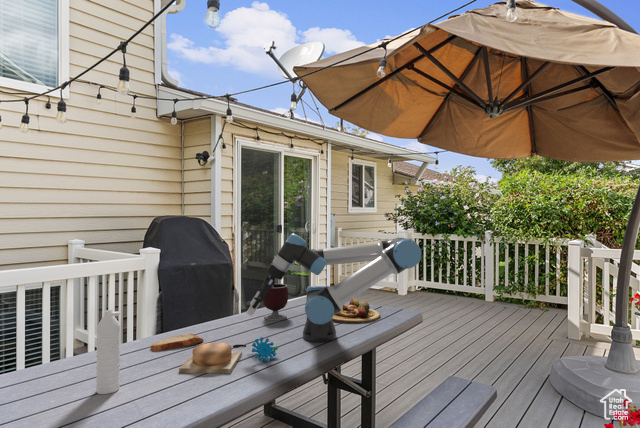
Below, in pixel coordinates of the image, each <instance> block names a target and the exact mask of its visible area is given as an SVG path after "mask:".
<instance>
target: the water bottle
mask: <svg viewBox="0 0 640 428" xmlns="http://www.w3.org/2000/svg"><path fill="white" fill-rule="evenodd" d="M103 311H104V313H103V317H102V318H100V321H99V322H98V324H97V326H96V355H95V356H96V361H95V362H96V379H95V381H96V384H95V385H96V386H95V388H96V390H95V391H96V393H97V394H98V395H109V394H113V393H115V392H117V391H119V390H120V387H121V383H120V382H121V381H120V380H121V379H120V377H121V374H120V371H121V370H120V369H121V368H120V365H121V363H120V361H121V358H120V357H121V356H120V354H121V351H120V350H121V348H120V345H121V343H120V341H121V340H120V339H121V336H120V335H121V333H120V331H121V324H120V322H119V321H118V319H117V318H116V317H117V316H118V317H119V316H120V315H121V311H113V310H112V309H107V310H103Z"/></svg>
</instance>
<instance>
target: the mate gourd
mask: <svg viewBox="0 0 640 428" xmlns="http://www.w3.org/2000/svg"><path fill="white" fill-rule="evenodd" d="M288 299H289V288H288V285H287V284H286V283H285V284H284V283H274V285H273V286H272V287H271V289H270V290H269V291H268V293H267V294H266V296H265V297H264V299H263V301H262V303H263V305H264V307H265V308H266V309H268V310H270V311H272V313H268V314H264V315H263V319H265V320H266V321H283V320H286V319H287V317H288V316H287V314H285V313H280V312H279V311H280V310H283V309H284V308H285V307H286V306H287V305H288Z"/></svg>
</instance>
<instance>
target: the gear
mask: <svg viewBox="0 0 640 428" xmlns="http://www.w3.org/2000/svg"><path fill="white" fill-rule="evenodd" d="M259 341H260V342H259ZM268 342H270V339H269V338H268V337H267V338H265V339H264V337H262V336H261V337H260V338H256V339H255V340H254V342H253V343H252V344H251V346H252V349H251V352H252V353H254V355H253V356H254V358H258V361H259V362H262V361H263V360H264V362H265V363H269V361H273V360H275V358H274V357H275V356H276V355H277V352H276V351H277V350H278V349H279V346H278V345H276V346H274V345H275V344H274V342H273V341H271V342H270V343H268ZM264 358H265V359H264Z"/></svg>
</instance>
